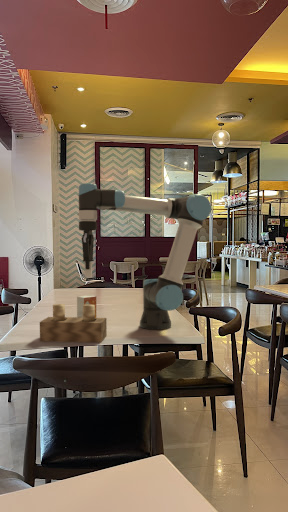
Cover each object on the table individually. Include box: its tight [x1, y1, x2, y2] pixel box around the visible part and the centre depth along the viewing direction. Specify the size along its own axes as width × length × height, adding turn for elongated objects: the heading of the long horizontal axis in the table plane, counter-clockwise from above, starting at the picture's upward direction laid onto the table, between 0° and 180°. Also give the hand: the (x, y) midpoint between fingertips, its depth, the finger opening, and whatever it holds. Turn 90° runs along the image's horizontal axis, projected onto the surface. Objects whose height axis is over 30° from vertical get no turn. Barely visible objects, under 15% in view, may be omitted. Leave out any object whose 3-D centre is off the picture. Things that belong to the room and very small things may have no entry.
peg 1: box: [52, 303, 66, 321], centre depth 172 cm, size 5×5×8 cm
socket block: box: [39, 316, 108, 343], centre depth 172 cm, size 26×11×8 cm, turn 84°
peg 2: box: [83, 304, 95, 322], centre depth 171 cm, size 5×5×8 cm
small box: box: [76, 295, 97, 318], centre depth 207 cm, size 8×6×13 cm
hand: (88, 276), depth 170 cm, fingers closed
